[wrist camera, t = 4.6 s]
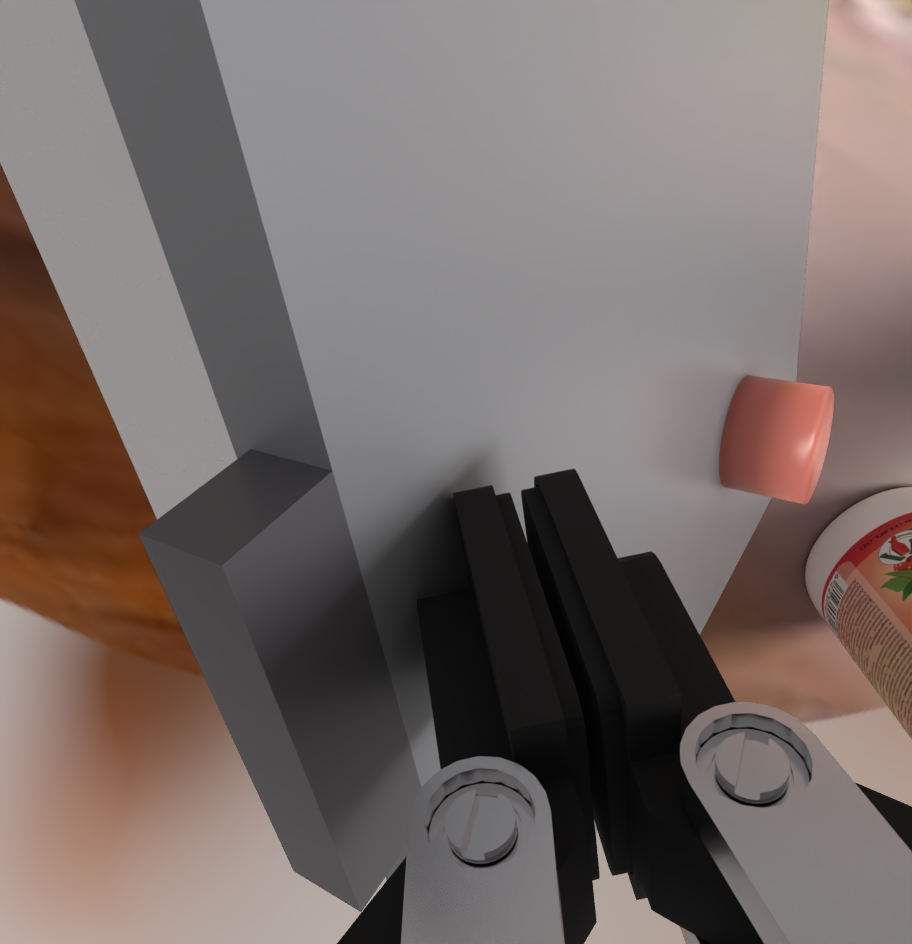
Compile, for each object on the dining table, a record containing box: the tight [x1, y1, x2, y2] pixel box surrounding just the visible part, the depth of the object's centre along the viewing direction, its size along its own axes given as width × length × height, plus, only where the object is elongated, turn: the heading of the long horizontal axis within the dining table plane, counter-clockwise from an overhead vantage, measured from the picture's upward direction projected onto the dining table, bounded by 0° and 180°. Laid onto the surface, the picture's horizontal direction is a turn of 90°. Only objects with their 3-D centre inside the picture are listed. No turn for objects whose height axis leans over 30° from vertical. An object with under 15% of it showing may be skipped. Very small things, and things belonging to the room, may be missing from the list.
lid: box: [75, 0, 834, 912], centre depth 16 cm, size 22×20×4 cm
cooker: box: [0, 0, 237, 519], centre depth 28 cm, size 20×25×10 cm
